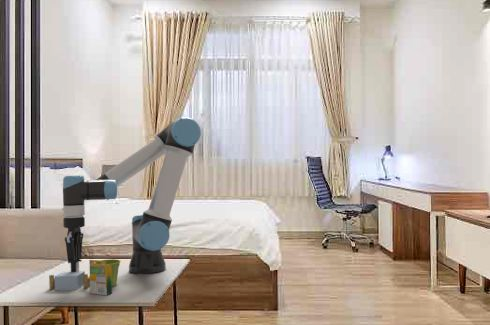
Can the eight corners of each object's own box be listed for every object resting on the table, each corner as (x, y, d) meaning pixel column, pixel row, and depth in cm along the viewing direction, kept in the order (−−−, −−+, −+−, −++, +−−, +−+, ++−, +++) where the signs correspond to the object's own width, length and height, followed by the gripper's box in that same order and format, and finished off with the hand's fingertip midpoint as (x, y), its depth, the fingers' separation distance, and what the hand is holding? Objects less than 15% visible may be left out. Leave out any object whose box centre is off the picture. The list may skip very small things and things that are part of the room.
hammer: (99, 280, 189) (98, 267, 189) (87, 288, 176) (86, 274, 176) (63, 281, 190) (63, 268, 190) (48, 289, 176) (48, 275, 176)
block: (84, 284, 183) (84, 271, 183) (77, 290, 175) (76, 275, 175) (63, 285, 183) (63, 271, 183) (54, 290, 175) (54, 276, 175)
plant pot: (126, 283, 183) (125, 259, 183) (111, 289, 174) (111, 264, 174) (105, 281, 186) (104, 258, 186) (89, 287, 177) (88, 263, 178)
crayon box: (112, 293, 168) (111, 259, 168) (106, 295, 165) (105, 260, 166) (95, 291, 171) (94, 258, 171) (89, 293, 169) (88, 259, 169)
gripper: (70, 215, 191) (71, 276, 190) (57, 218, 178) (58, 284, 177) (89, 214, 191) (90, 275, 190) (77, 218, 177) (78, 283, 177)
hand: (75, 279), depth 184 cm, fingers closed
